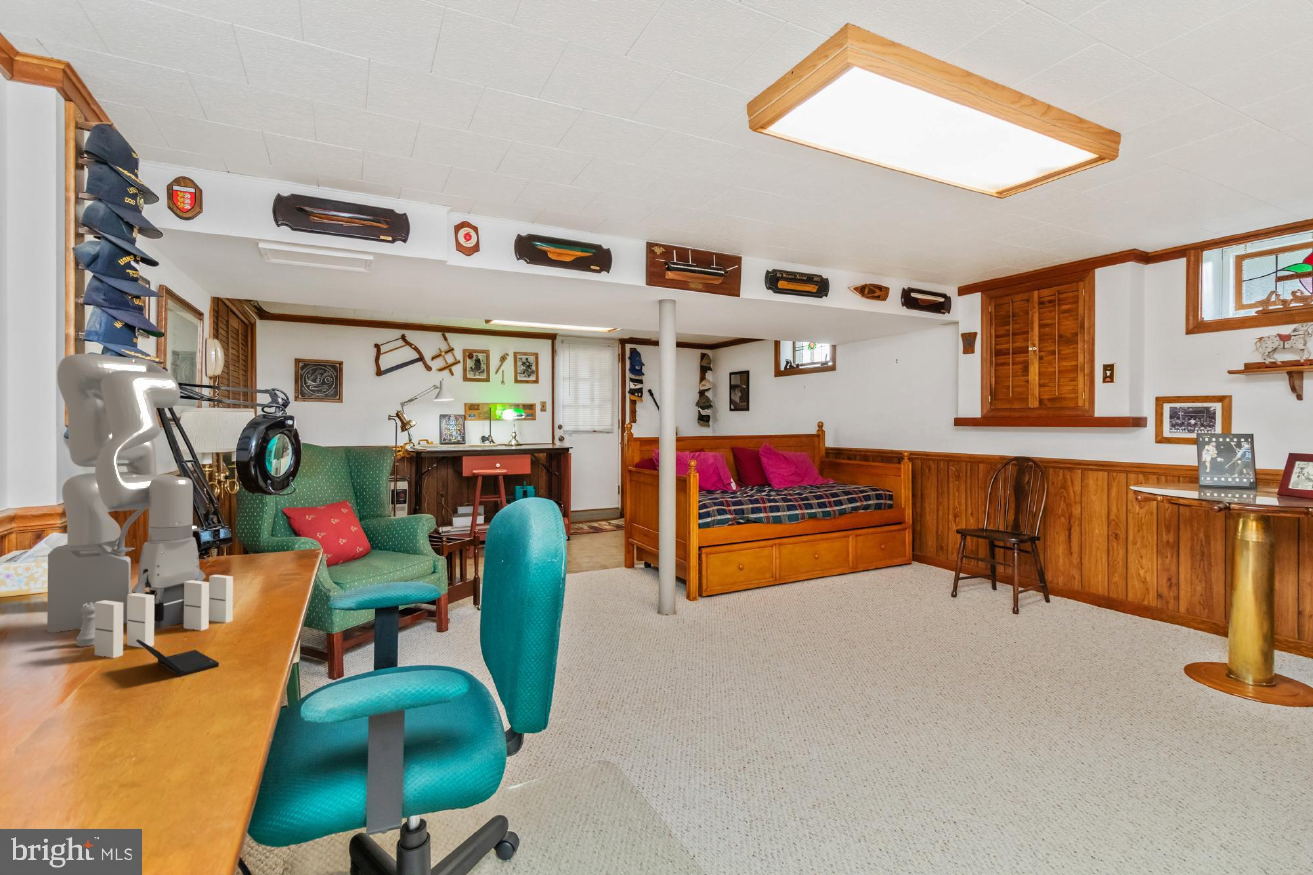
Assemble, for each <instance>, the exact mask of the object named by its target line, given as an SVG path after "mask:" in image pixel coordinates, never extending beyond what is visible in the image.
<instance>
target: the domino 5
mask: <svg viewBox="0 0 1313 875" xmlns="http://www.w3.org/2000/svg"><path fill="white" fill-rule="evenodd" d="M208 577H209V579H208V582H209V622H216V623H223V624H227V623H230V622H233V621H234V620H233V619H234V614H233V612H234V611H233V610H234V609H233V608H234V607H233V606H234V576H232V575H225V574H224V575H223V574H213V575H209V576H208Z"/></svg>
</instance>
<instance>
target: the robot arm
mask: <svg viewBox="0 0 1313 875" xmlns="http://www.w3.org/2000/svg"><path fill="white" fill-rule="evenodd" d="M56 376H57V377H56V378H57V385H58V389H59V391H60V394H61V396H62V399H63V401H64V404H65V407H66V411H67V427H68V428H67V429H68V430H67V432H68V450H69V457H70V459H71V461H72V463H73V464H75V465H76V466H79V467H82V468H83V467H84V468H94V472H89V473H88V472H87V473H82V474H77V475H74V476H71V477H70V478H69V479H67V480H66V481H65V482H64V484H63V485H62V489H61V496H62V501H63V505H64V509H65V510H64V511H65V515H66V525H67V529H66V530H67V531H66V532H67V537H66V538H67V540H66V542H67V543H66V544H67V545H72V546H73V545H87V544H100V543H104V542H110V541H115V540H116V539H117V538H119V536H120V533H121V531H122V529H121V527H120V525H119V523H118V522H117V521H116V520H115V519H114V518H113V517H111V515H110V514H109V513H110V512H115V511H116V512H123V511H124V512H126V511H137V510H138V509H147V510H148V541H146V542H143V543H144V544H143V545H142V549H141V553H140V557H139V564H138V572H137V573H138V575H137V582H136V584H135V585H134V586H133V588H132V589H131V594H134V593H140V594H148V595H154V622H155V621H158V622H160V621H163V619H164V603H163V602H160V601H161V598H162V595H163V591H164V588H168V587H172V586H176V585H181V584H184V582H186V581H190V580H194V581H203V580H204V579H205V578H206V574H205V573H204V572H203V570H201V569H200V561H199V551H198V550H199V549H198V544H197V540H196V537H194V536H193V535H194V534H193V533H194V532H196V531H197V530H198V526H197V525H196V524H194V523H193V522H194V521H193V520H194V519H193V515H194V514H193V513H194V510H193V509H194V484H193V481H192V479H190V478H189V477H186V476H185V477H184V476H177V475H175V474H170V473H169V474H168V473H166V474H165V473H161V474H159V473H158V474H157V456H156V455H157V454H156V444H155V442H154V440H155V439H156V438H158V436H159V435H160V434H161V427H160V422H159V420H158V416H157V413H156V409H170V408H173V407H176V406H177V404H178V403H179V401H180V399H181V389H180V386H179V382H178V381H177V380H176V378H175V377H174V376H173V375H172V374H171V373H170V372H168V371H167V370H165V369H164V368H162V367H161V366H160V365H158V364H156V363H155V362H153V361H150V360H148V359H145V358H136V357H135V358H134V357H125V356H116V355H107V354H96V353H76V354H70V355H66V356H65V357H63V358H62V359H61V360H60V362H59V364H58V367H57V371H56ZM119 467H126V471H120V469H119ZM118 541H119V539H118ZM118 541H117V543H116V544H118ZM105 544H107V543H105ZM67 545H66V546H67ZM101 545H102V546H103V547H104V548H105V549H106V550H107V551H108V552H111V549H112V548H111V547H109V546H106V545H103V544H101ZM114 549H117V547H114ZM79 552H80V553H81V554H82V553H99V552H98V551H97V550H91V551H79ZM146 588H147V589H148V591H147V590H146Z"/></svg>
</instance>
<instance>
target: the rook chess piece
mask: <svg viewBox="0 0 1313 875" xmlns="http://www.w3.org/2000/svg"><path fill="white" fill-rule="evenodd" d="M80 611H81V612H82V613H83V616H82V619H83V624H82V629H80V631H79V633H78V635H77V636H76V638H75V639H76V641H77V642H75V645H76V646H77V647H78V646H79V648H88V647H87V646H89V647H95V646H94V645H95V604H93V602H90V603H89V605H87V603H85V604H83V607H82V608H81V609H80Z"/></svg>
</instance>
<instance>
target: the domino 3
mask: <svg viewBox="0 0 1313 875" xmlns="http://www.w3.org/2000/svg"><path fill="white" fill-rule="evenodd" d="M160 602H163V603H164V619H163V621H160V622H158V621H154V629H159V630H161V629H164V628H168V627H172V626H175V625H178V624H182V623H184V584H181V585H176V586H172V587H168V588H164V591H163V595H162V598H161V601H160Z"/></svg>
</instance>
